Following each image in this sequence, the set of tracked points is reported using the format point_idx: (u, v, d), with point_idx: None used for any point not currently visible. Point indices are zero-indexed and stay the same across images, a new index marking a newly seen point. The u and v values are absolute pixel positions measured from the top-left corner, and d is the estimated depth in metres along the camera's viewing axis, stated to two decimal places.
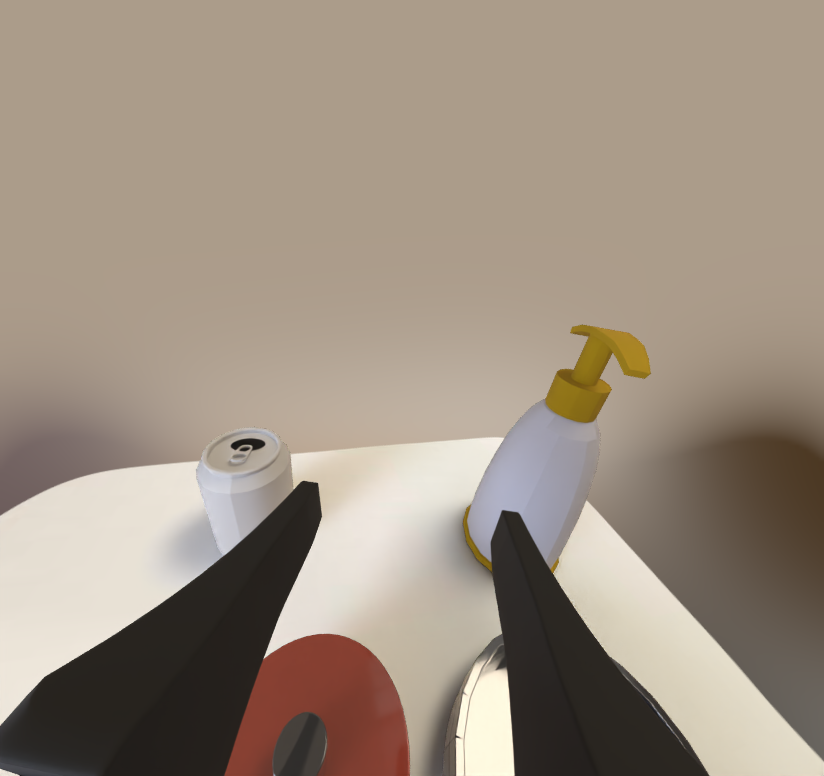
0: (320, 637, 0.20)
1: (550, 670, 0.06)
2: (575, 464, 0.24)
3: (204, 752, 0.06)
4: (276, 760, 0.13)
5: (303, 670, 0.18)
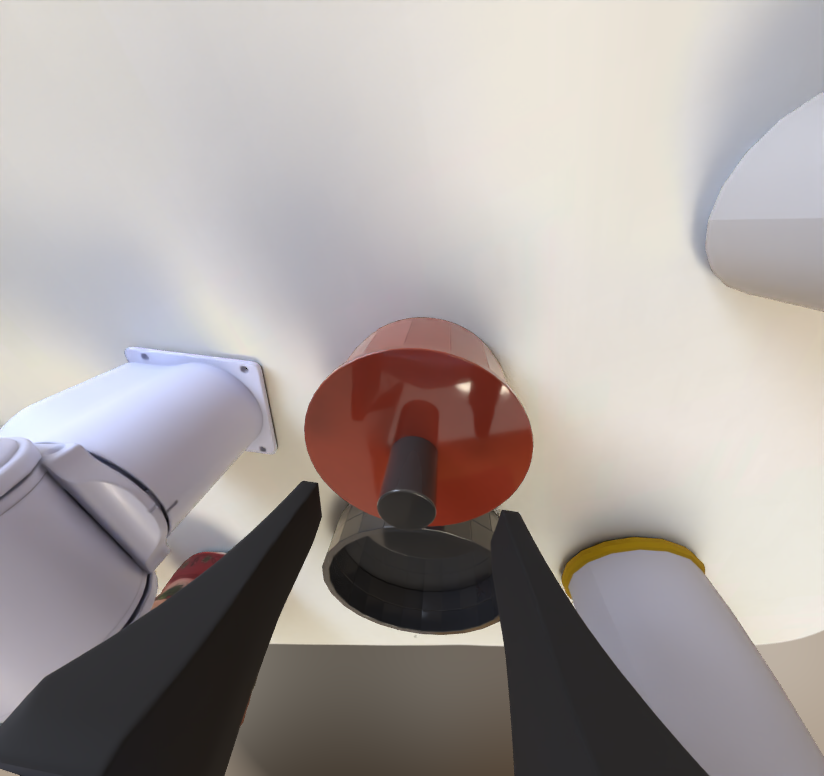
0: (528, 450, 0.13)
1: (551, 670, 0.06)
2: None
3: (204, 752, 0.06)
4: (395, 493, 0.11)
5: (492, 439, 0.13)
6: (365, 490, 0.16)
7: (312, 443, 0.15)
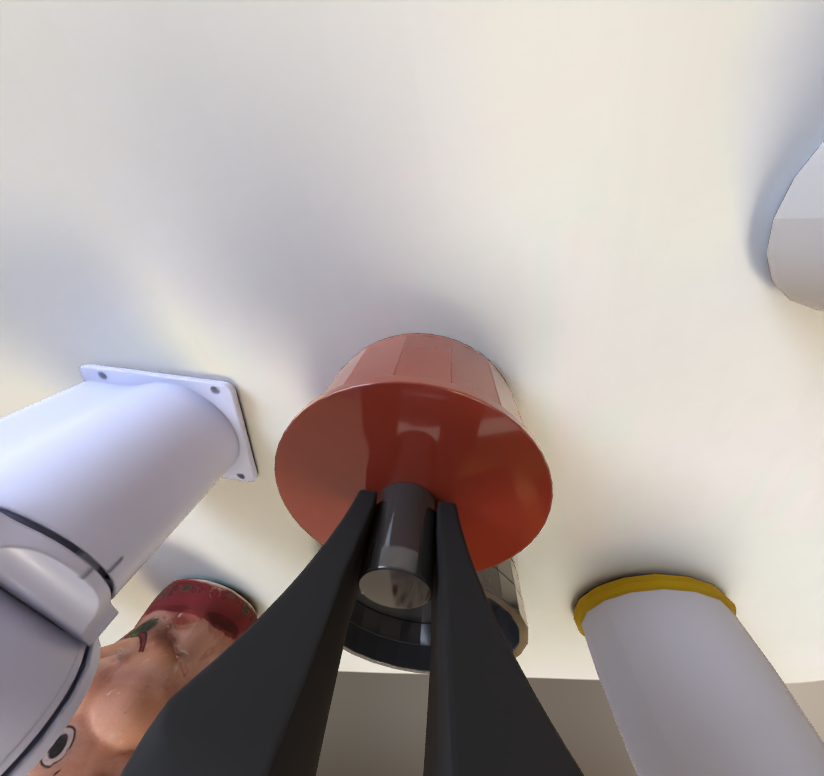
0: (546, 501, 0.11)
1: (445, 652, 0.07)
2: None
3: (305, 772, 0.06)
4: (381, 571, 0.09)
5: (502, 487, 0.11)
6: None
7: (285, 487, 0.12)
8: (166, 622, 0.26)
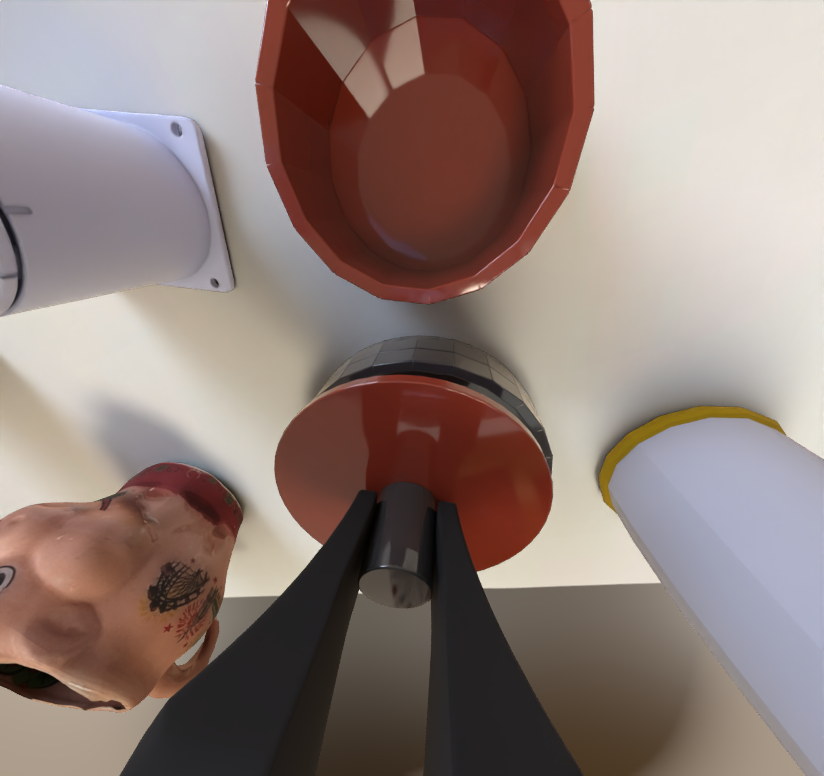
0: (546, 501, 0.11)
1: (445, 652, 0.07)
2: None
3: (305, 772, 0.06)
4: (380, 570, 0.09)
5: (502, 487, 0.11)
6: None
7: (285, 487, 0.12)
8: (135, 493, 0.22)
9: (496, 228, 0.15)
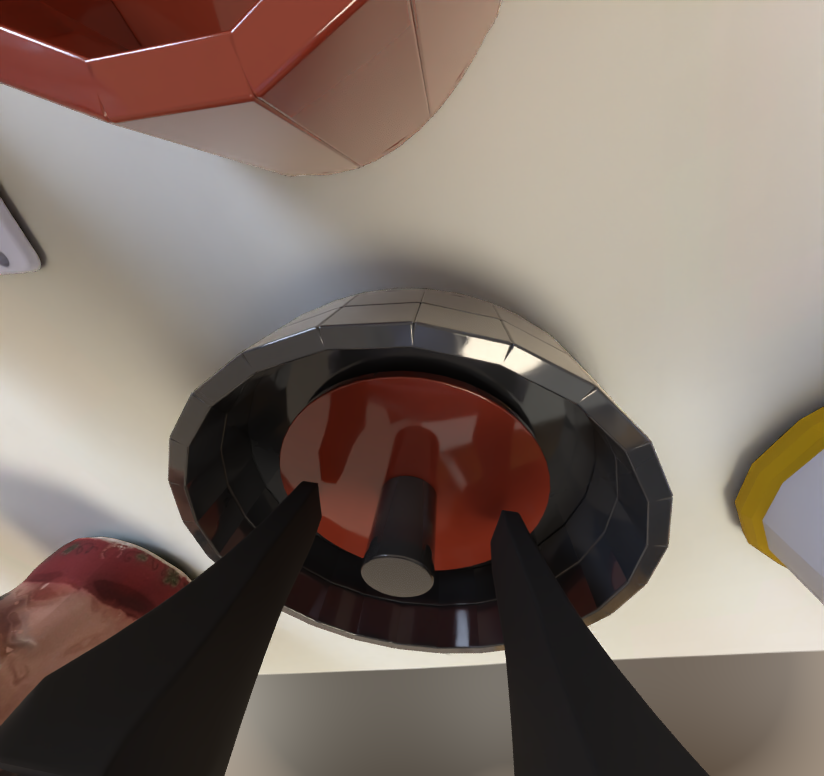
0: (544, 494, 0.11)
1: (550, 670, 0.06)
2: None
3: (204, 752, 0.06)
4: (383, 559, 0.09)
5: (501, 480, 0.11)
6: (353, 532, 0.14)
7: (289, 481, 0.13)
8: (16, 597, 0.16)
9: None
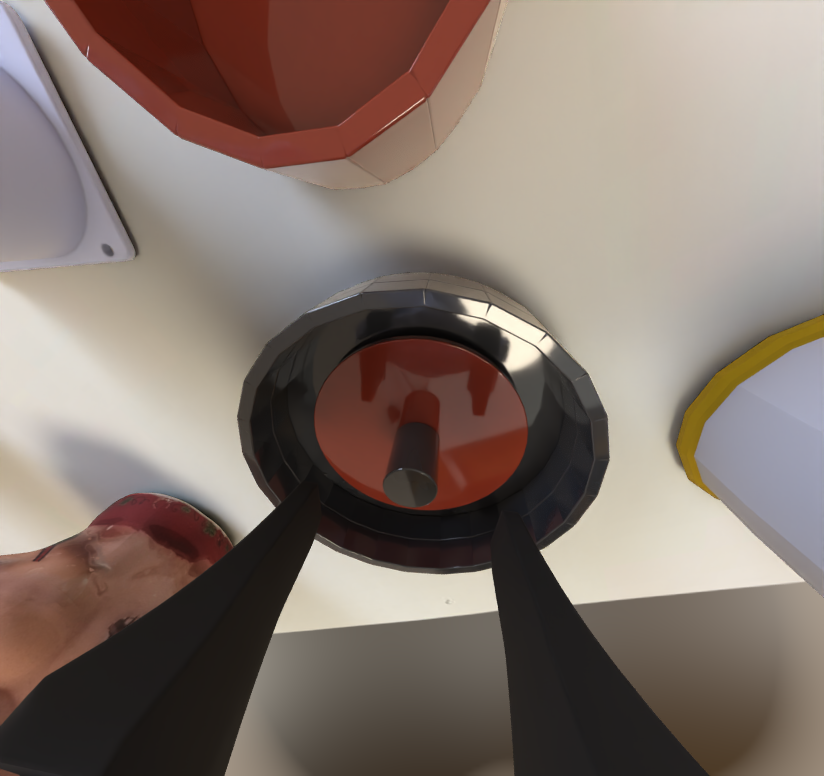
0: (523, 435, 0.14)
1: (551, 670, 0.06)
2: None
3: (204, 752, 0.06)
4: (400, 472, 0.12)
5: (489, 424, 0.14)
6: (370, 475, 0.17)
7: (321, 429, 0.16)
8: (88, 535, 0.19)
9: None
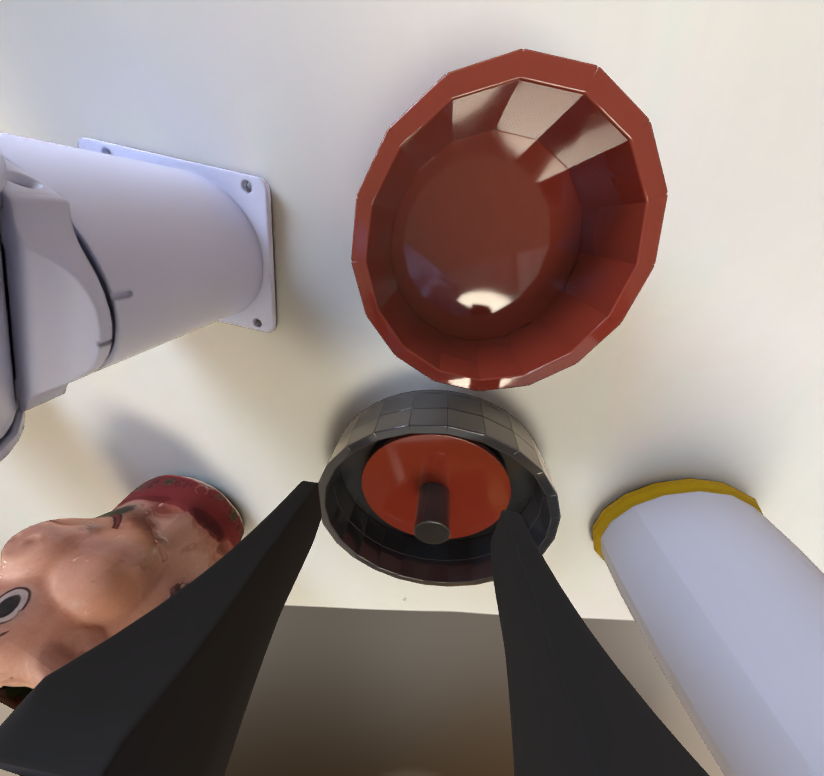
0: (504, 506, 0.22)
1: (550, 670, 0.06)
2: None
3: (204, 752, 0.06)
4: (430, 523, 0.19)
5: (486, 495, 0.21)
6: (390, 507, 0.23)
7: (368, 472, 0.22)
8: (144, 509, 0.23)
9: (536, 312, 0.16)
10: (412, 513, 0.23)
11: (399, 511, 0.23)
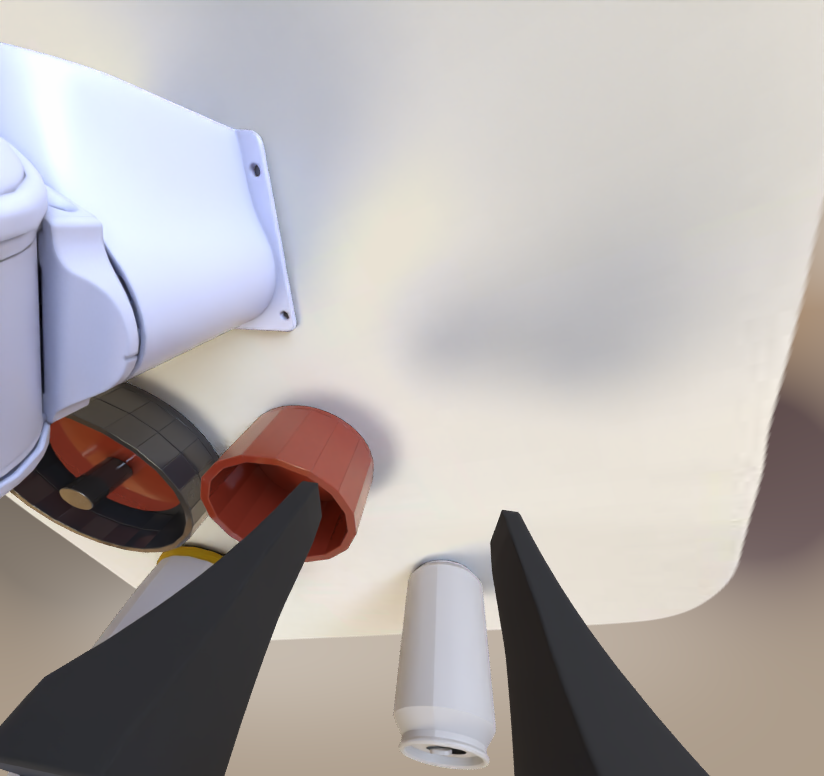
0: (149, 509, 0.27)
1: (551, 670, 0.06)
2: None
3: (204, 752, 0.06)
4: (85, 497, 0.21)
5: (148, 498, 0.26)
6: (71, 437, 0.23)
7: None
8: None
9: (291, 491, 0.26)
10: (81, 454, 0.24)
11: (73, 444, 0.24)
